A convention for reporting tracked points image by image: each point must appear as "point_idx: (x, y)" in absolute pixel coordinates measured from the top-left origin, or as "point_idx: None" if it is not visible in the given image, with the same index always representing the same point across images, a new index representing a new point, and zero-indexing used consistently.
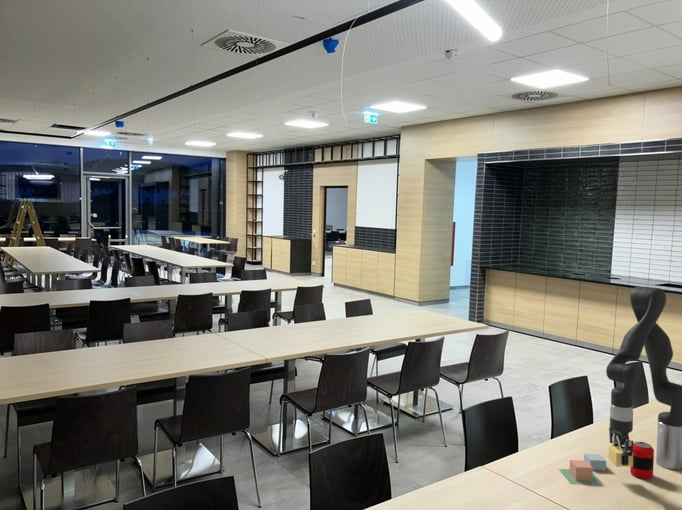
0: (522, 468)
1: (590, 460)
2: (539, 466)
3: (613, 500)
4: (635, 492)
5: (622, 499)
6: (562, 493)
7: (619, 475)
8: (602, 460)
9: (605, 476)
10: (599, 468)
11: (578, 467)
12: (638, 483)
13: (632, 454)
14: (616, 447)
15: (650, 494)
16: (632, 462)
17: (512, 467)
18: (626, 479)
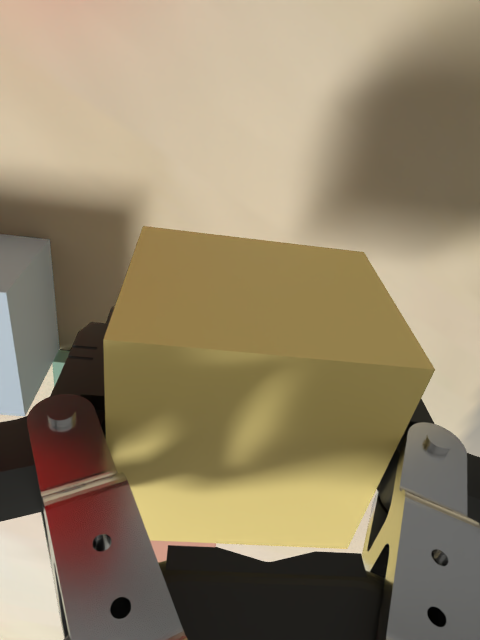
0: (54, 600)
1: (21, 412)
2: (15, 546)
3: (437, 396)
4: (395, 201)
5: (446, 345)
6: (308, 552)
7: (89, 145)
8: (9, 327)
9: (118, 277)
10: (41, 306)
11: None
12: (256, 54)
13: (422, 363)
14: (158, 479)
15: (463, 86)
16: (378, 284)
17: (49, 623)
18: (170, 127)
